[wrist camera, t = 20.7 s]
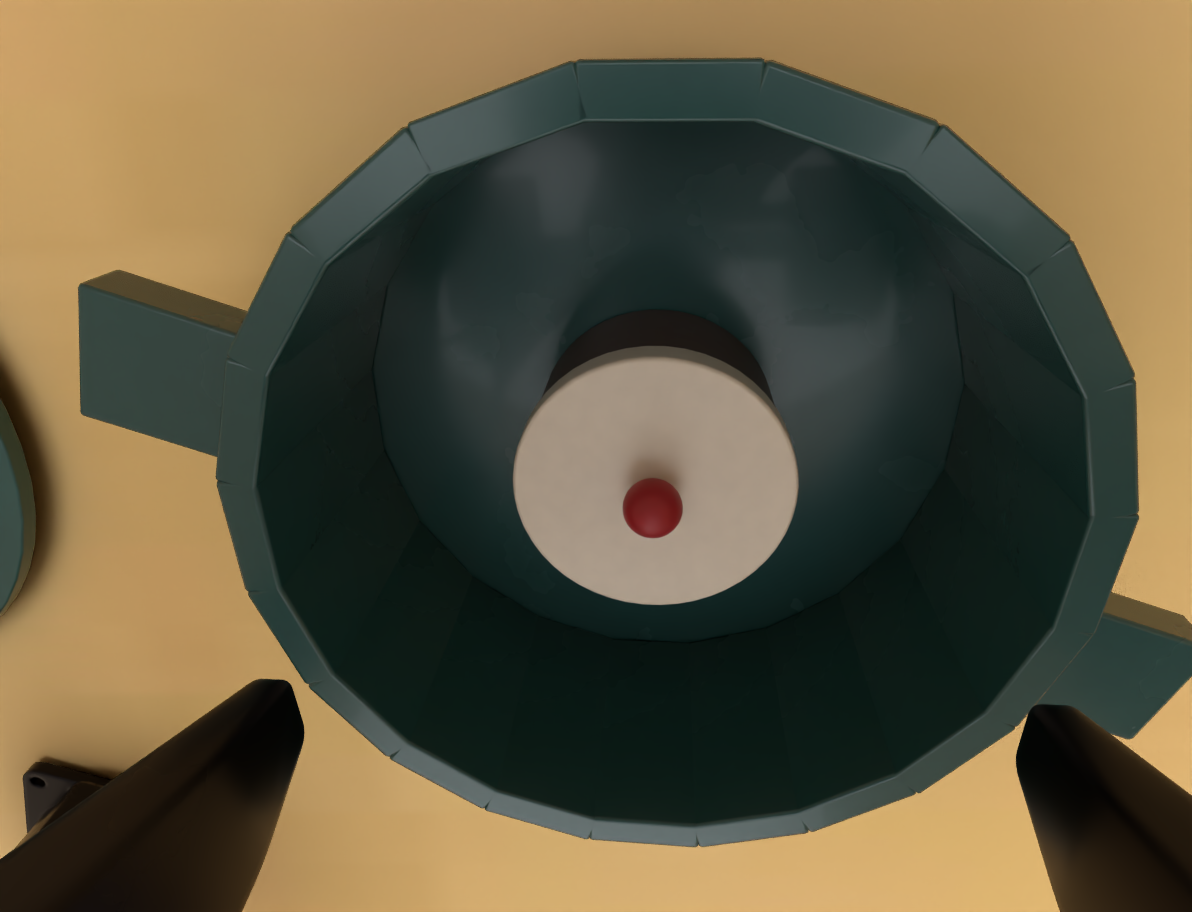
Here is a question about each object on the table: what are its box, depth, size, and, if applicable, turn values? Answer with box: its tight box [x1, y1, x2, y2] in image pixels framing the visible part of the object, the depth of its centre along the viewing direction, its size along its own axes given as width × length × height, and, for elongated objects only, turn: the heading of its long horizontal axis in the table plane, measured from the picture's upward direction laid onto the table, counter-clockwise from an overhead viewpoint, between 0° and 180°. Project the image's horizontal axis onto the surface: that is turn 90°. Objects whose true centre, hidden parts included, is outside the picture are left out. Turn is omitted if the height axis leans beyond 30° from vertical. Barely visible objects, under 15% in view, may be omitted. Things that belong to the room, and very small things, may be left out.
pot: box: [78, 58, 1192, 847], centre depth 15 cm, size 14×20×6 cm
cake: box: [513, 310, 799, 605], centre depth 15 cm, size 5×5×4 cm
